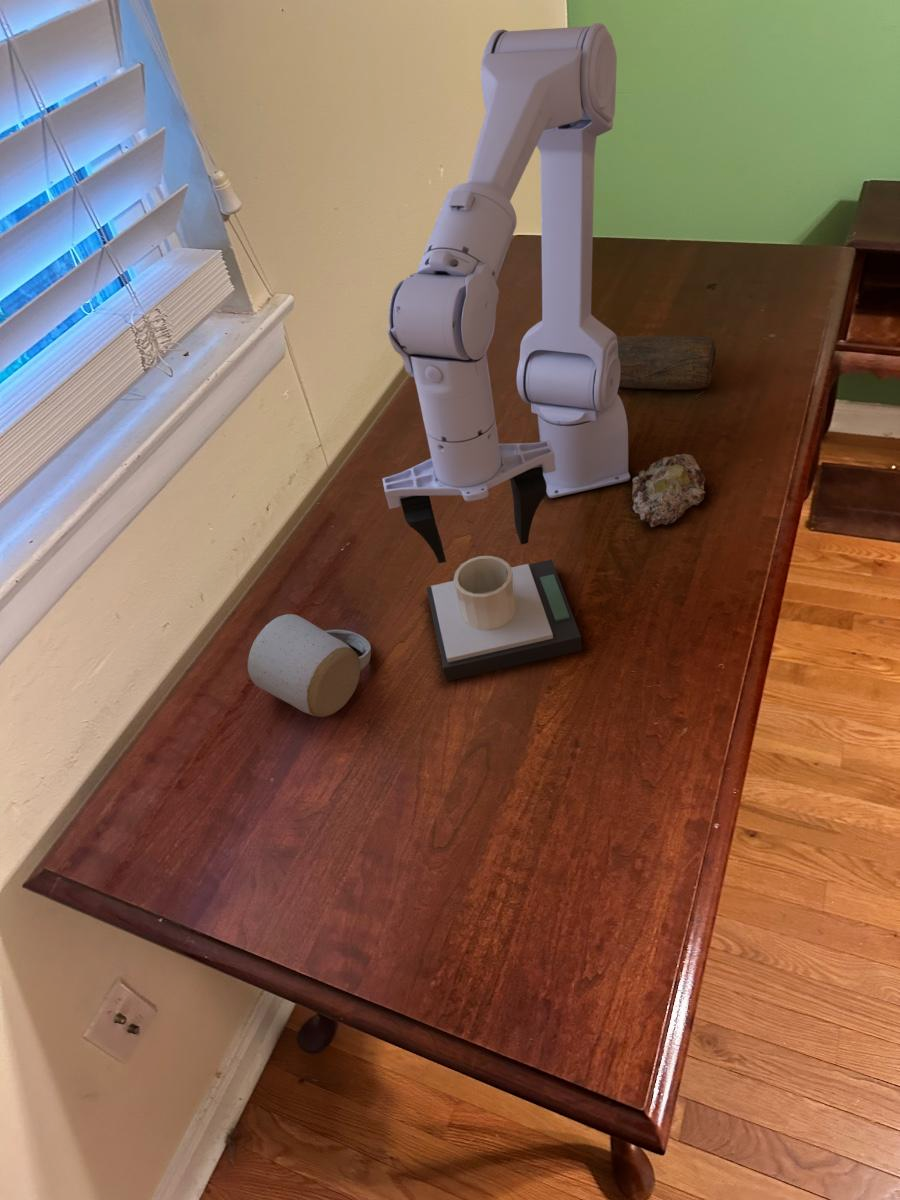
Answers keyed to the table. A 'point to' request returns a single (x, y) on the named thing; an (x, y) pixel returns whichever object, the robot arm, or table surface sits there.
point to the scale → (506, 626)
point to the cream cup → (485, 592)
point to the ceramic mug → (307, 664)
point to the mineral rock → (668, 489)
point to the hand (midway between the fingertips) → (481, 546)
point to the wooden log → (666, 362)
